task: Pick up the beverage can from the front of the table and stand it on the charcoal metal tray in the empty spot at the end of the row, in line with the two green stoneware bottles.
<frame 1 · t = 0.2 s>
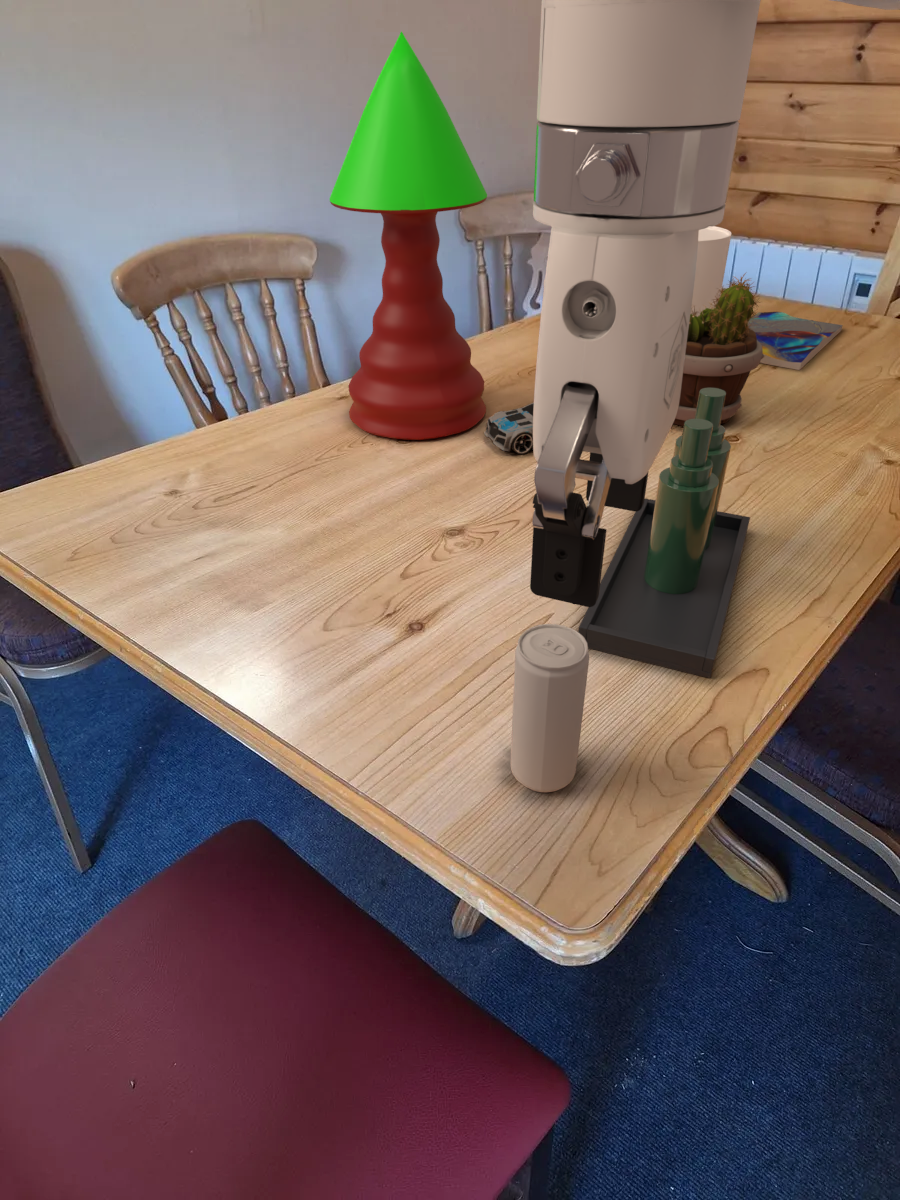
hand: (591, 547, 40), 22 cm above the table, tool pointing down, fingers open, 9 cm apart
table lamp: (417, 415, 113), on the table
toy car: (547, 438, 106), on the table
tray: (669, 584, 77), on the table
flowerpot: (693, 416, 111), on the table
canister: (665, 363, 129), on the table
middle bottle: (670, 579, 76), point 1 cm above the table, touching tray
beverage can: (542, 773, 57), on the table
far bottle: (685, 539, 82), point 1 cm above the table, touching tray
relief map: (776, 342, 137), on the table
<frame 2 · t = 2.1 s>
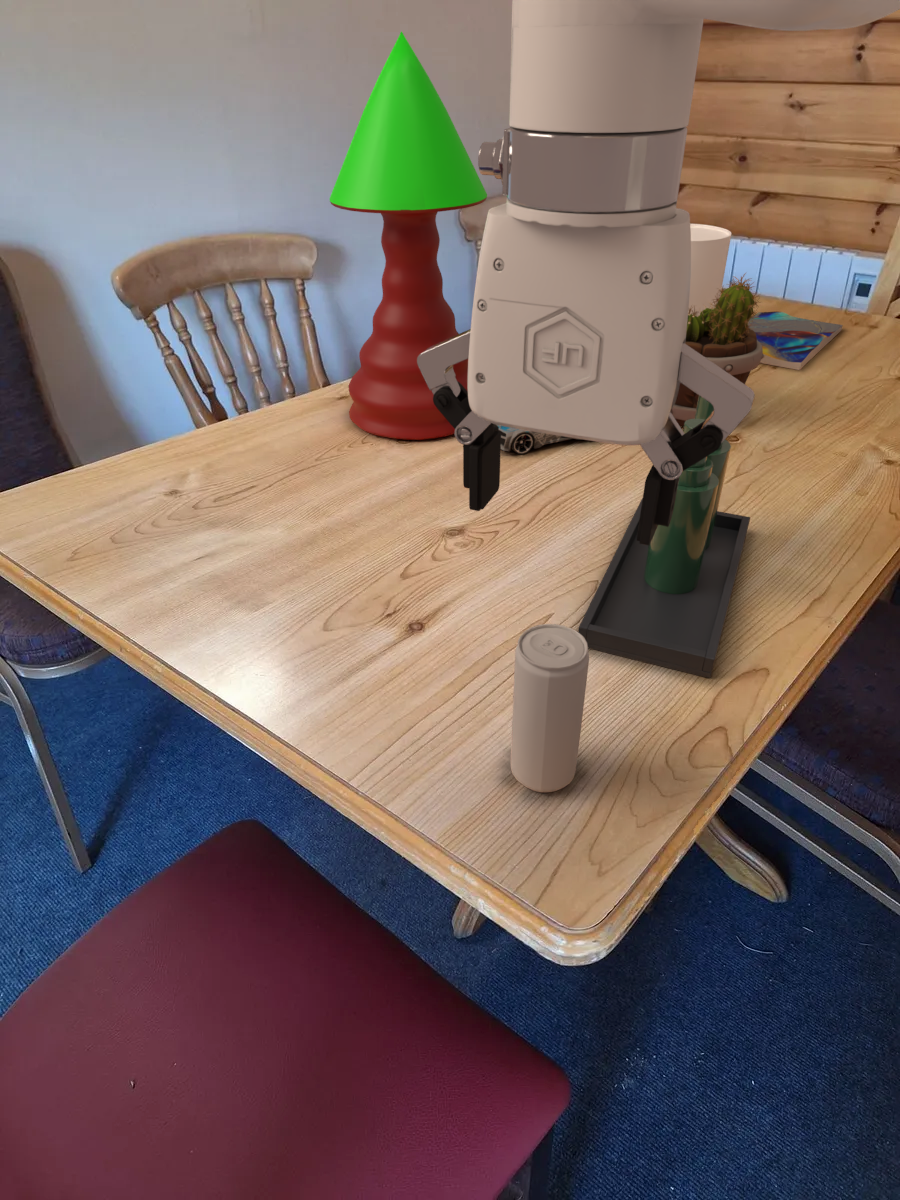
hand: (563, 515, 44), 22 cm above the table, tool pointing down, fingers open, 9 cm apart
nothing on the table moved.
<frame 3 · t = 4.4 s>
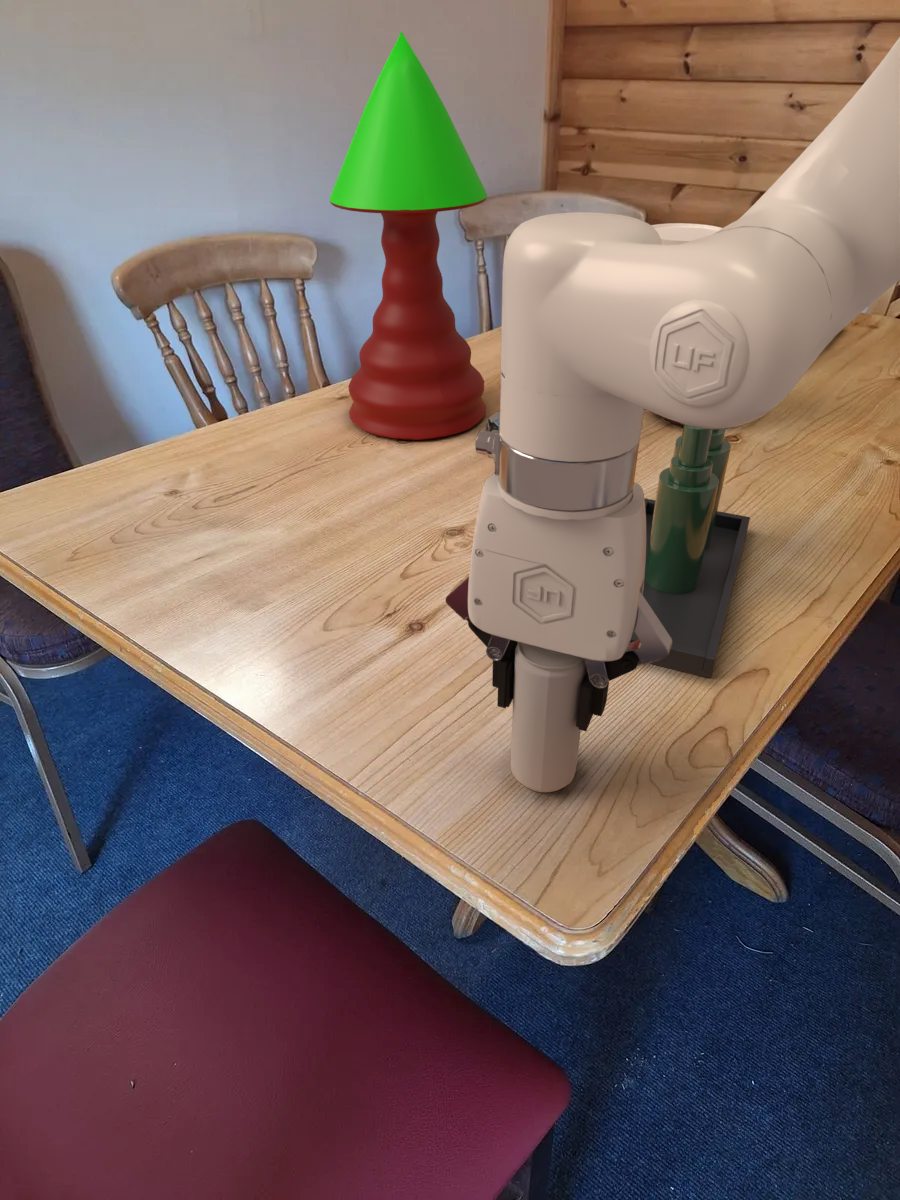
hand: (547, 703, 53), 7 cm above the table, tool pointing down, fingers closed on beverage can, 4 cm apart
beverage can: (542, 773, 57), on the table, touching gripper
everything else where it was.
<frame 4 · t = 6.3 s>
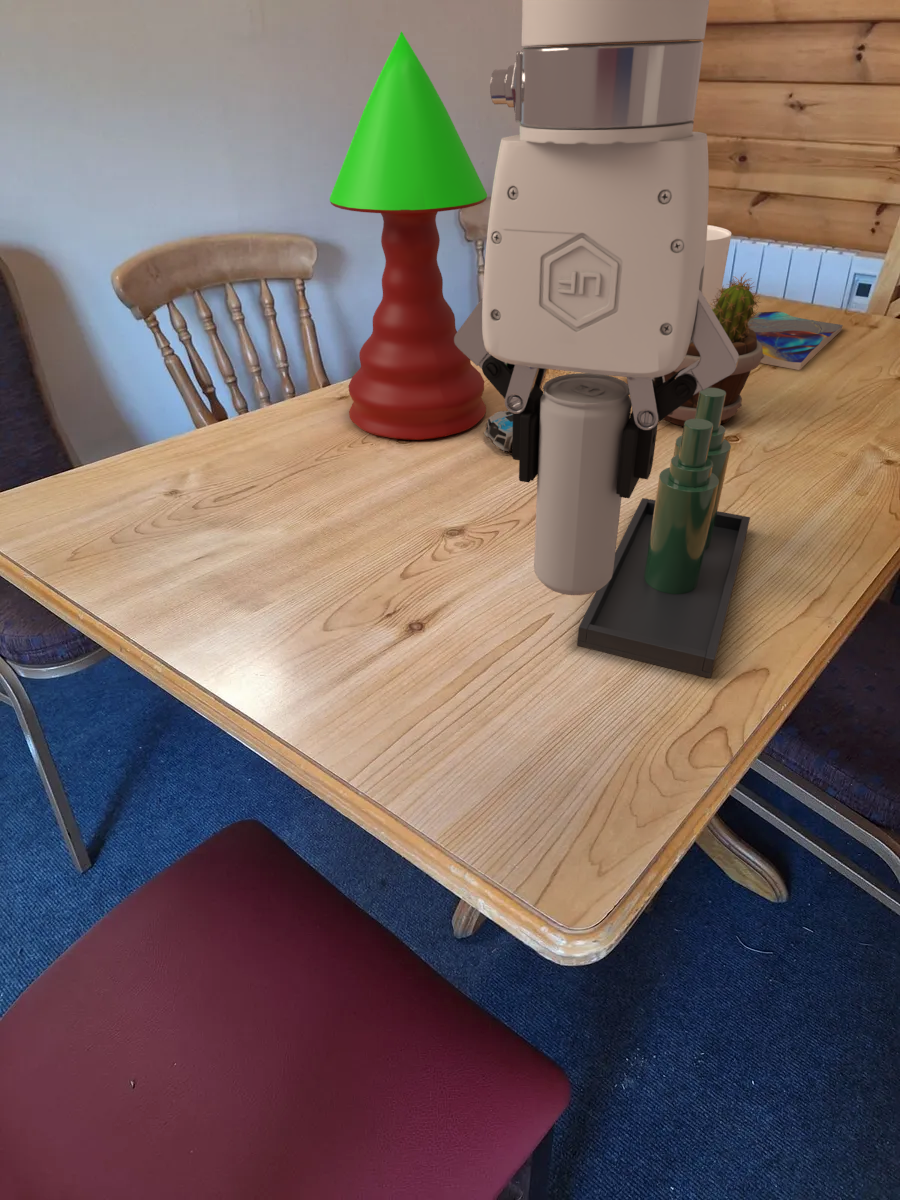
hand: (580, 476, 44), 24 cm above the table, tool pointing down, fingers closed on beverage can, 4 cm apart
beverage can: (572, 579, 48), point 17 cm above the table, touching gripper
everything else where it was.
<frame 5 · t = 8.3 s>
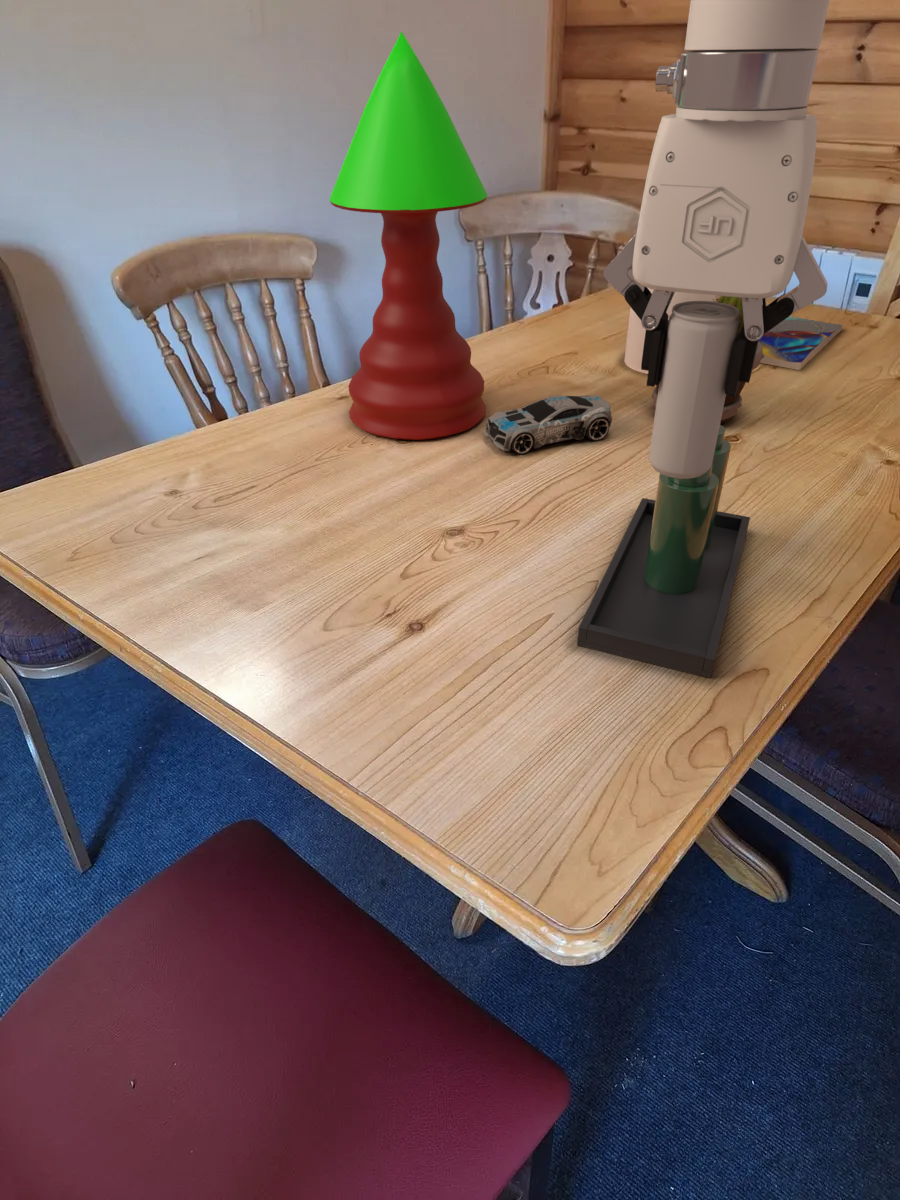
hand: (693, 382, 57), 23 cm above the table, tool pointing down, fingers closed on beverage can, 4 cm apart
beverage can: (678, 469, 61), point 16 cm above the table, touching gripper
everything else where it was.
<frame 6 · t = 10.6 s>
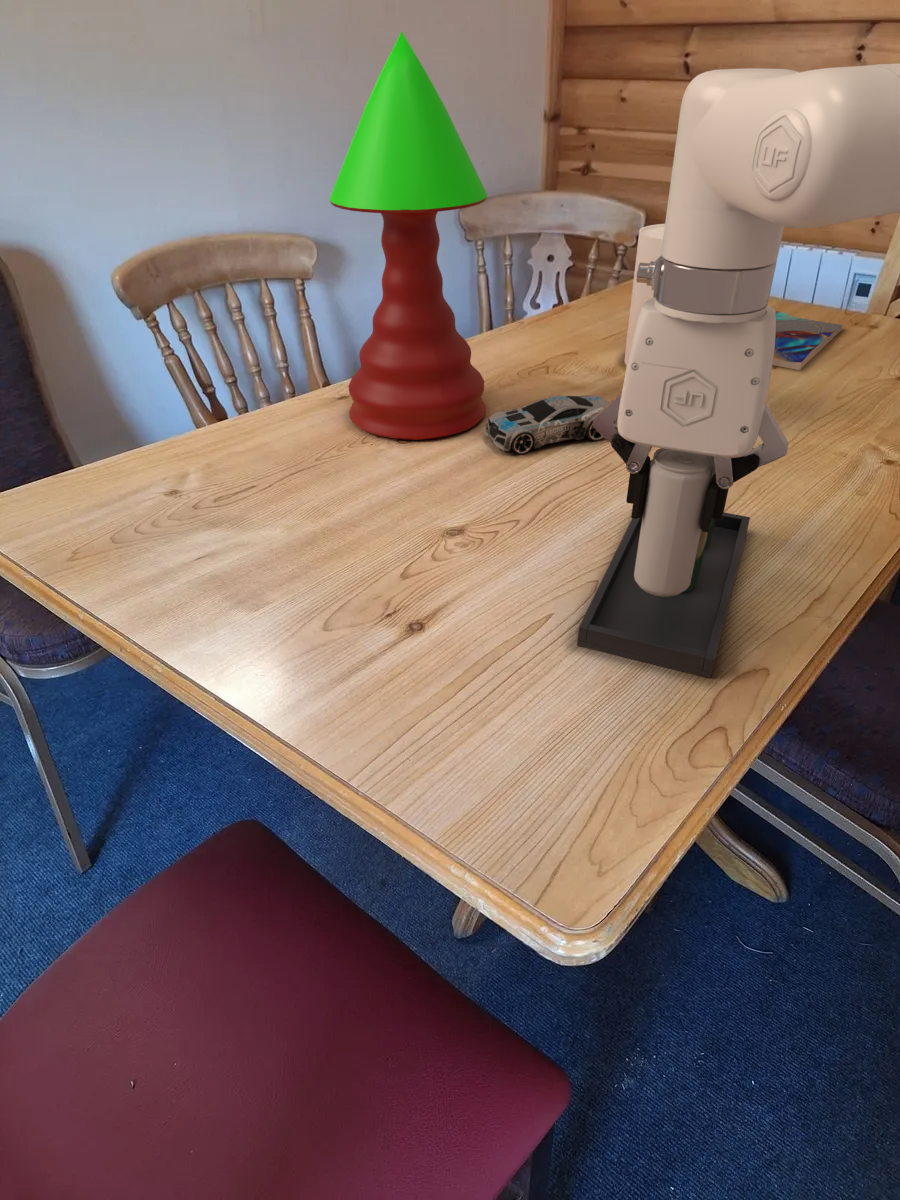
hand: (672, 515, 64), 12 cm above the table, tool pointing down, fingers closed on beverage can, 4 cm apart
beverage can: (660, 585, 68), point 5 cm above the table, touching gripper
everything else where it was.
when the fingers open (7 cm above the table, at t = 12.1 s): beverage can stays where it is, resting on tray.
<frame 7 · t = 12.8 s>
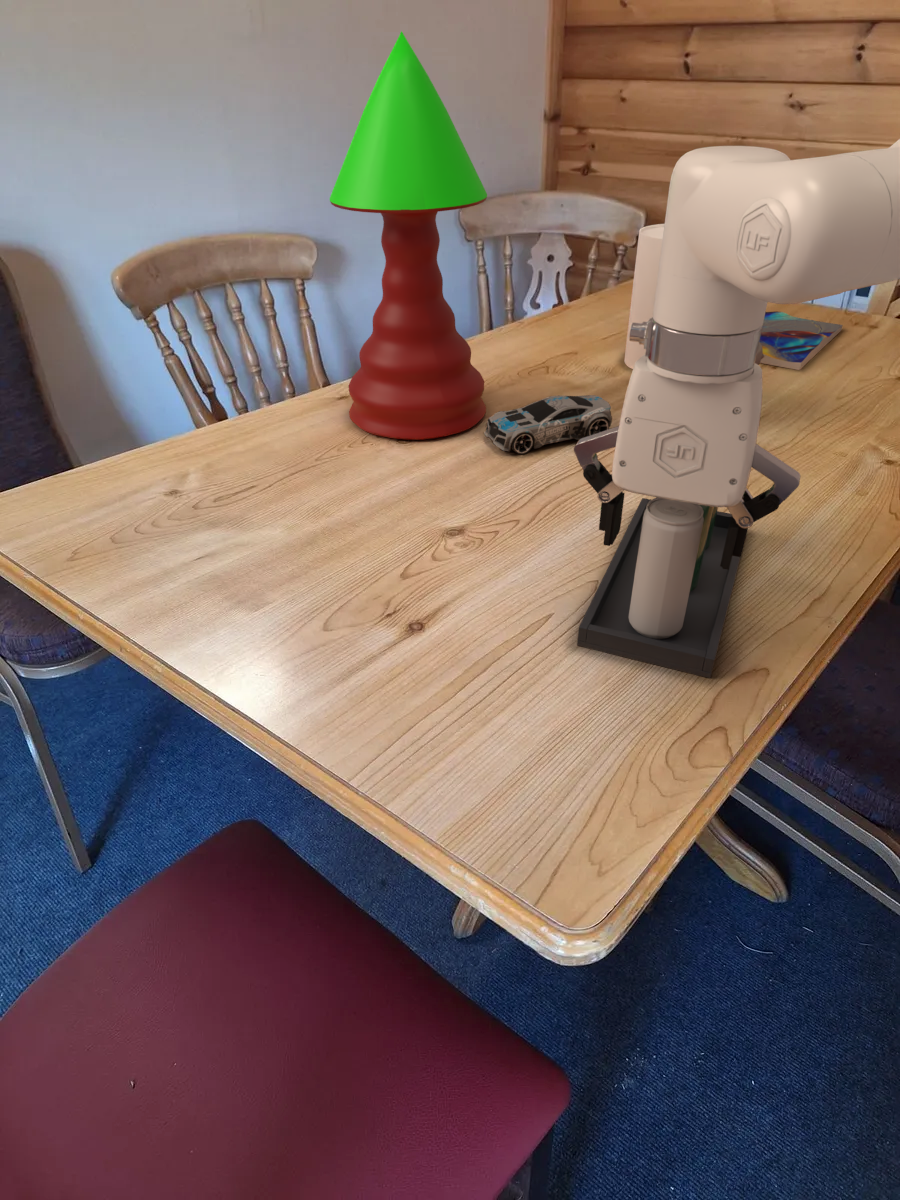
hand: (667, 549, 66), 9 cm above the table, tool pointing down, fingers open, 9 cm apart
beverage can: (654, 627, 70), resting on tray
everything else where it was.
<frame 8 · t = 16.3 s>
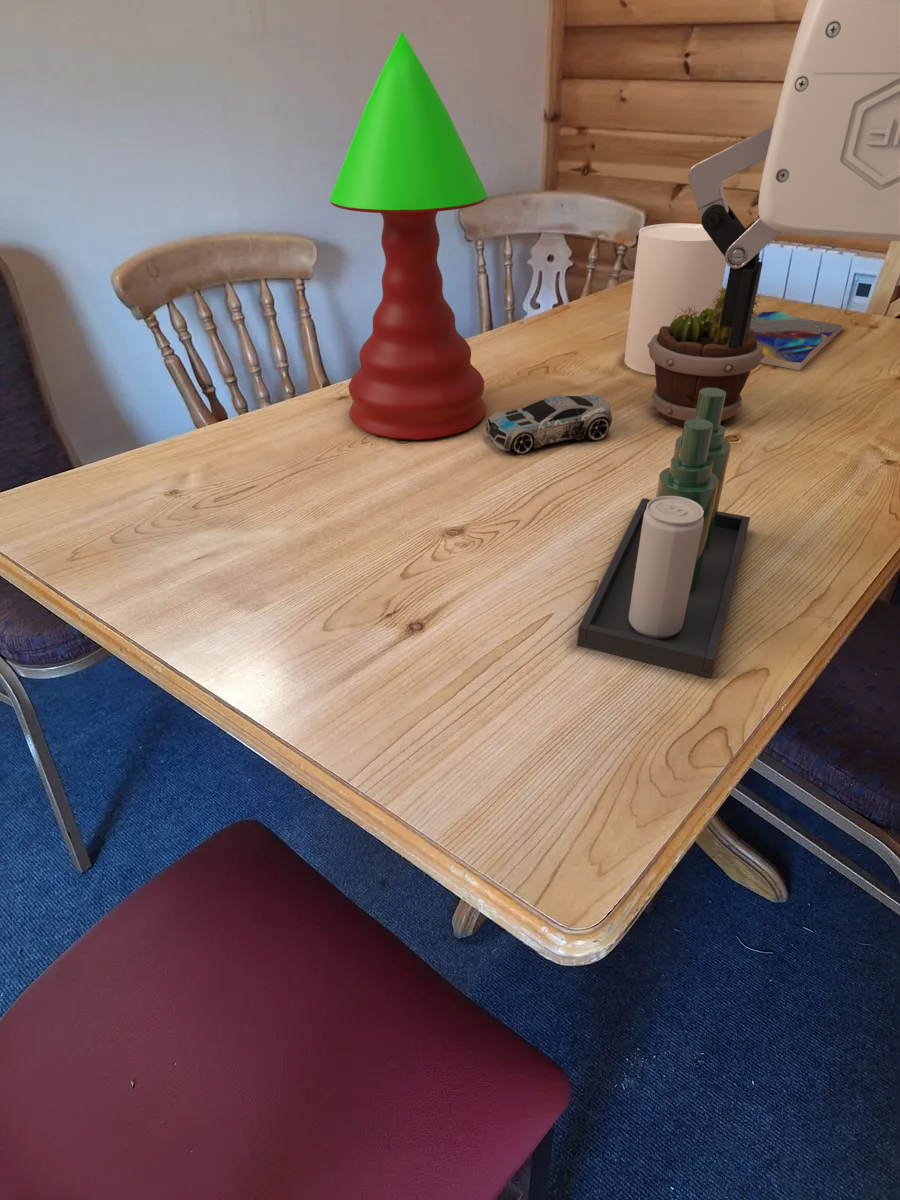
hand: (832, 351, 41), 30 cm above the table, tool pointing down, fingers open, 9 cm apart
nothing on the table moved.
at the end: beverage can 0.1 cm from the target spot in the tray, point 0.4 cm above the tray's base; beverage can tilted 0°; beverage can 8.0 cm from the middle bottle (horizontally) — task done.
